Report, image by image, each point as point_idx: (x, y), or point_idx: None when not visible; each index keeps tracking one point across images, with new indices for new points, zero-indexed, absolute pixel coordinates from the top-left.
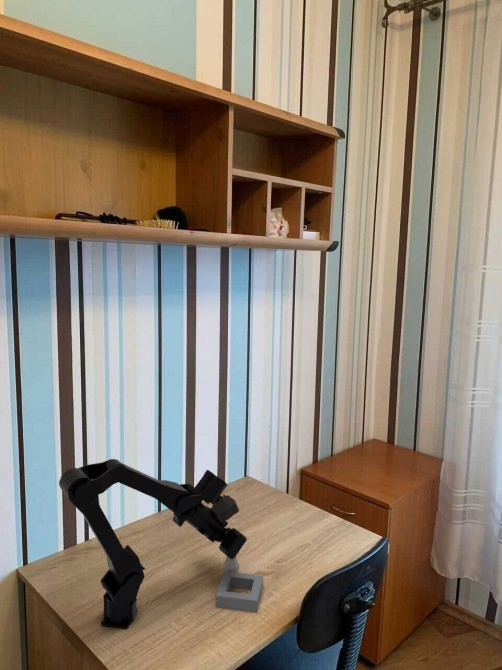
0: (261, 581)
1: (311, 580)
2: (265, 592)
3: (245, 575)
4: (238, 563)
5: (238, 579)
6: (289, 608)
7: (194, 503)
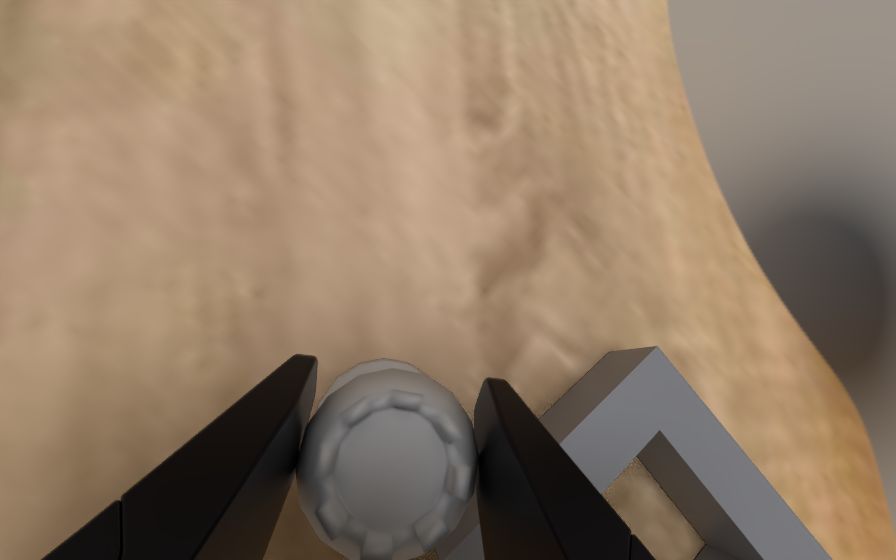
0: (702, 403)
1: (697, 133)
2: None
3: (589, 451)
4: (416, 371)
5: None
6: (808, 373)
7: None
